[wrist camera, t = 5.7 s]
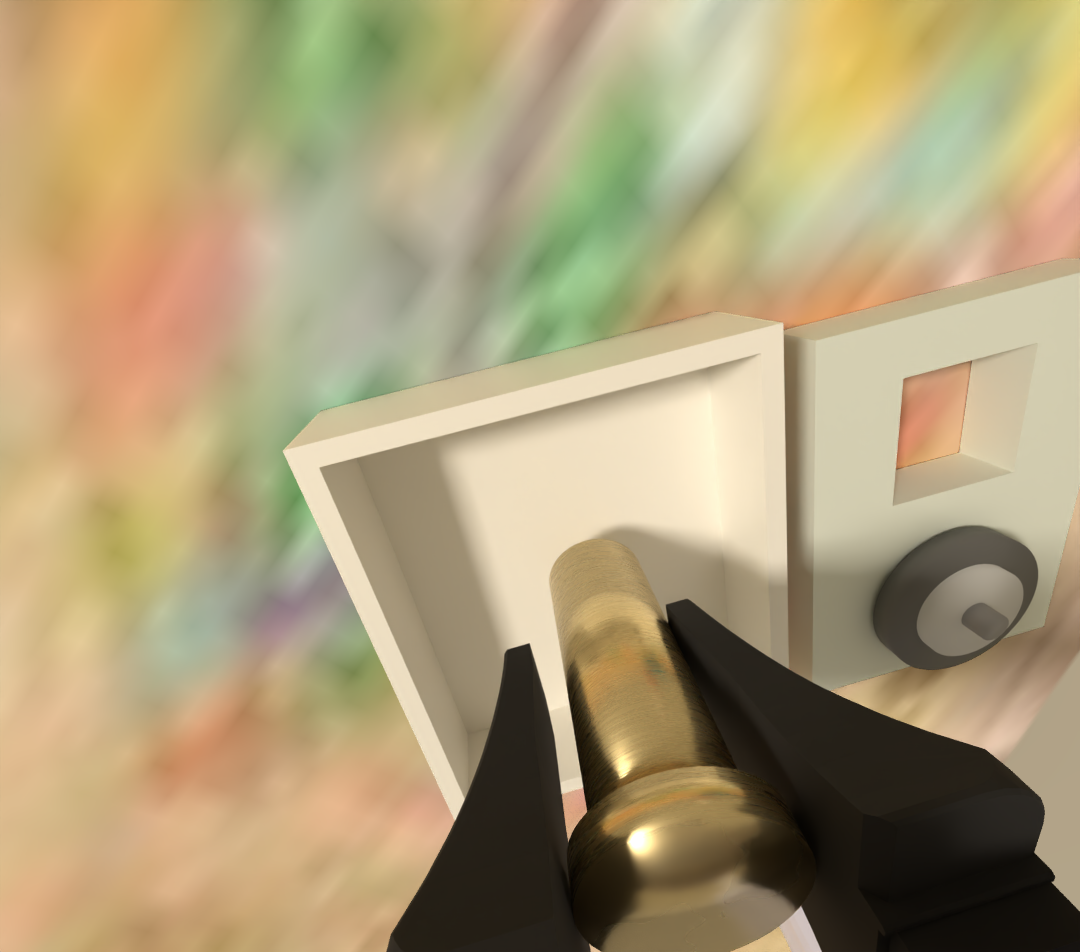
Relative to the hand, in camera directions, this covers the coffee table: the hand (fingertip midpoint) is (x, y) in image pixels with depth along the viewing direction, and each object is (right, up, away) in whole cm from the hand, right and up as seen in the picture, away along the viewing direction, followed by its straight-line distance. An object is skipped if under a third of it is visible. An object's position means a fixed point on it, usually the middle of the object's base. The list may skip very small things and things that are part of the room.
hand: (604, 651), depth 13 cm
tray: (-1, +2, +4) cm, 5 cm away
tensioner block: (+12, +4, +6) cm, 14 cm away
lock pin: (0, +1, +3) cm, 3 cm away
